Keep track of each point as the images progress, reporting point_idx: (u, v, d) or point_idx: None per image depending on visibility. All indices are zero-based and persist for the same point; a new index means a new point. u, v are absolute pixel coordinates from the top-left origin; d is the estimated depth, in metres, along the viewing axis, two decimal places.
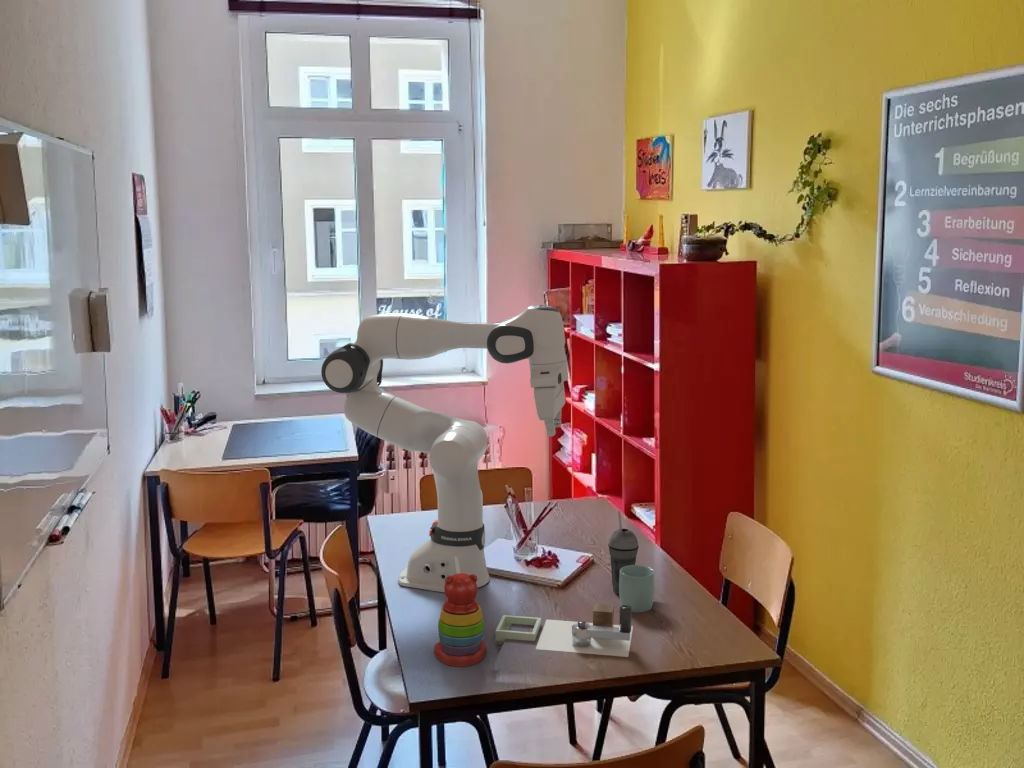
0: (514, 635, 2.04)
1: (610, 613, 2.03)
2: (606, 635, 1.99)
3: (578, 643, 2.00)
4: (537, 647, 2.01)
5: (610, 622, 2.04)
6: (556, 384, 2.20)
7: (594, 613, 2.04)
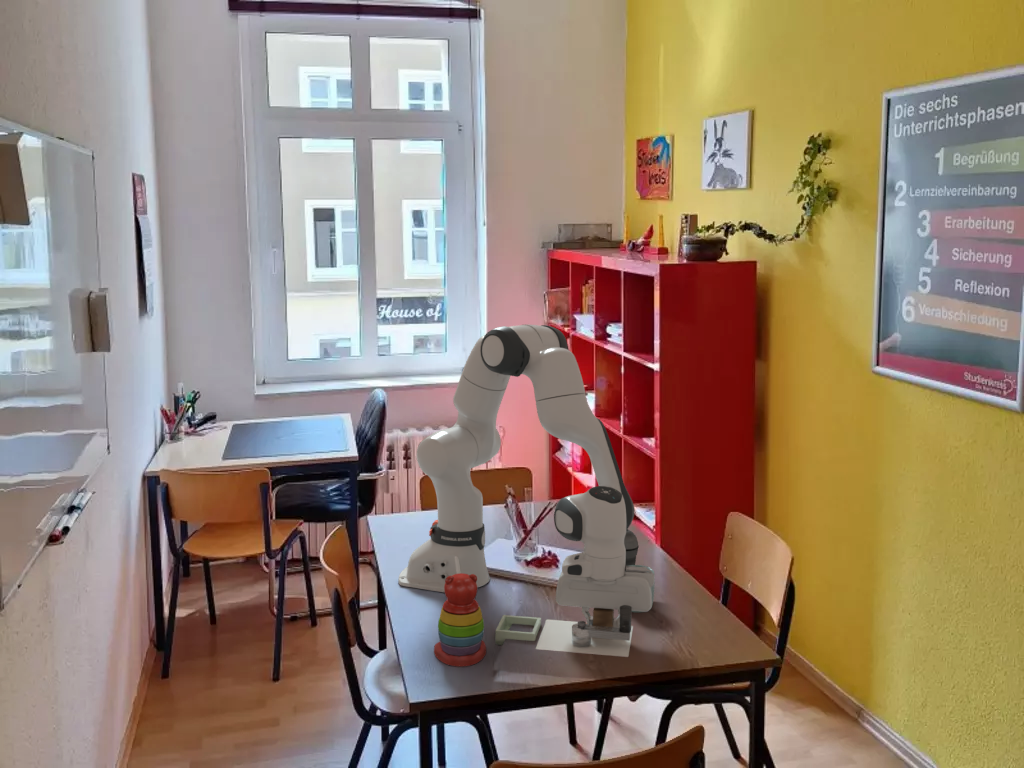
0: (514, 635, 2.04)
1: (610, 613, 2.03)
2: (606, 635, 1.99)
3: (578, 643, 2.00)
4: (537, 647, 2.01)
5: (610, 622, 2.04)
6: (562, 572, 2.03)
7: (594, 613, 2.04)
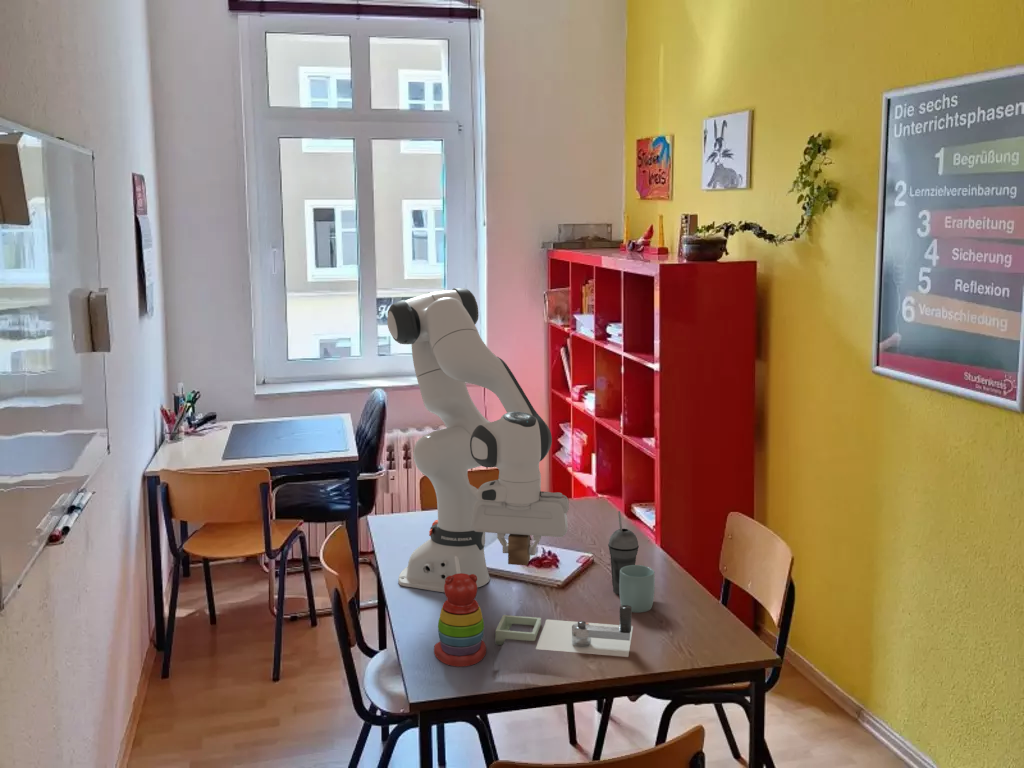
0: (514, 635, 2.04)
1: (525, 539, 2.03)
2: (606, 635, 1.99)
3: (578, 643, 2.00)
4: (537, 647, 2.01)
5: (525, 548, 2.03)
6: (477, 497, 2.02)
7: (509, 539, 2.03)
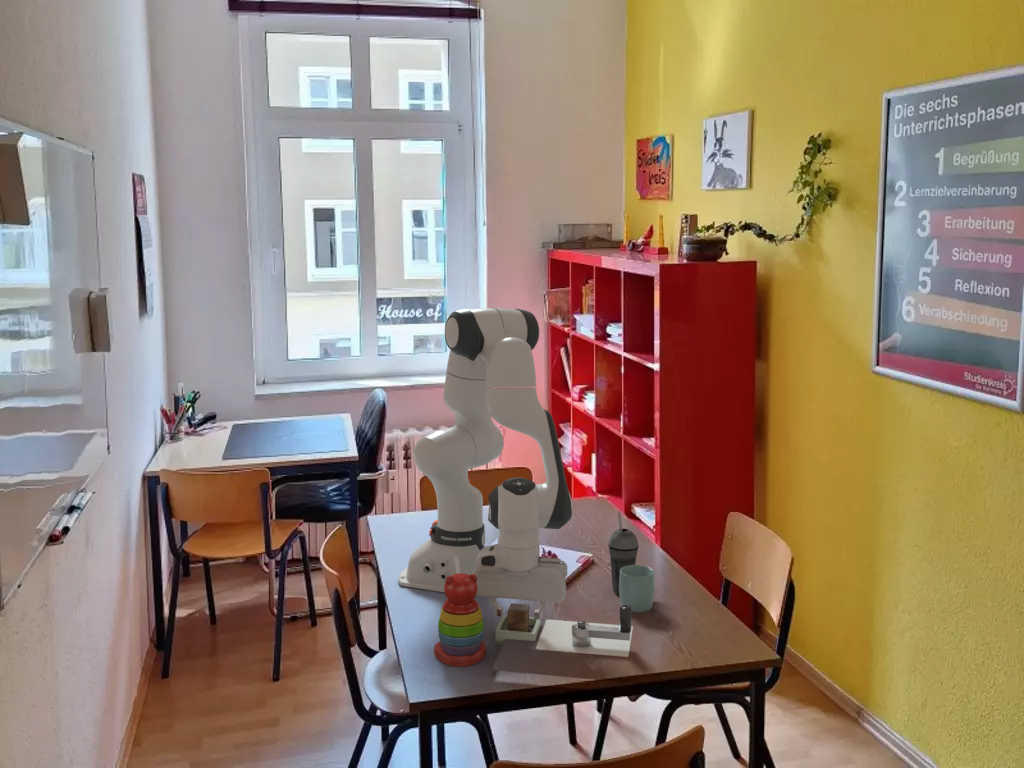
0: (514, 635, 2.04)
1: (524, 613, 2.05)
2: (606, 635, 1.99)
3: (578, 643, 2.00)
4: (537, 647, 2.01)
5: (524, 621, 2.06)
6: (476, 563, 2.05)
7: (508, 613, 2.06)
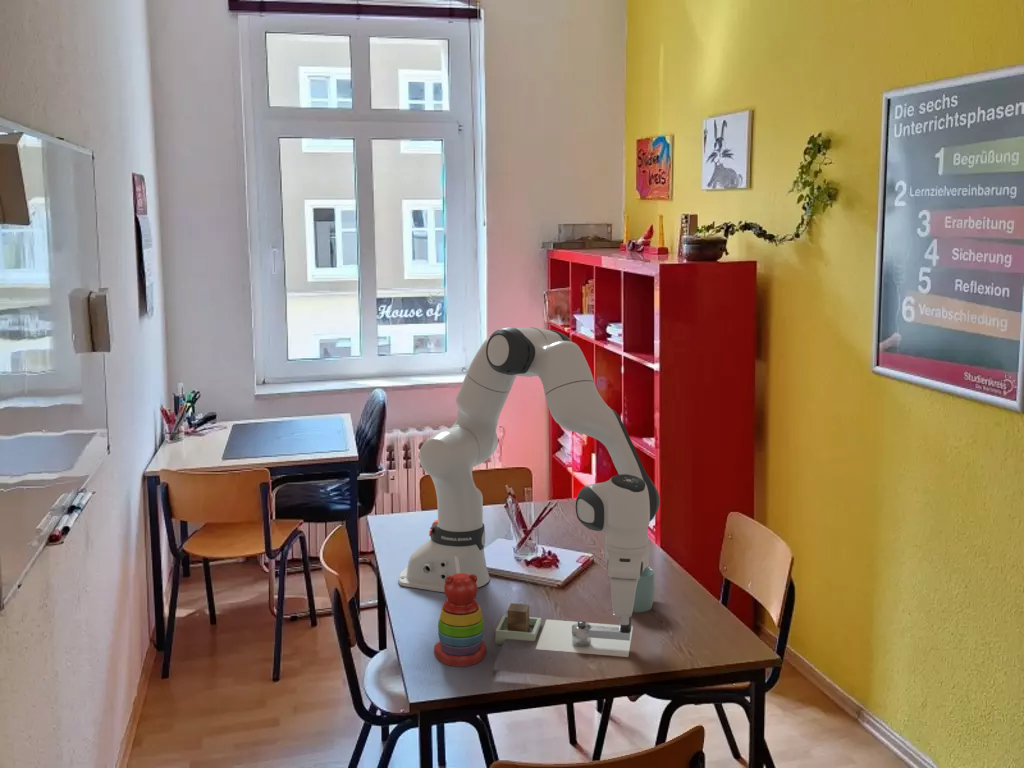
0: (514, 635, 2.04)
1: (524, 613, 2.05)
2: (606, 635, 1.99)
3: (578, 643, 2.00)
4: (537, 647, 2.01)
5: (524, 621, 2.06)
6: (638, 577, 1.89)
7: (508, 613, 2.06)
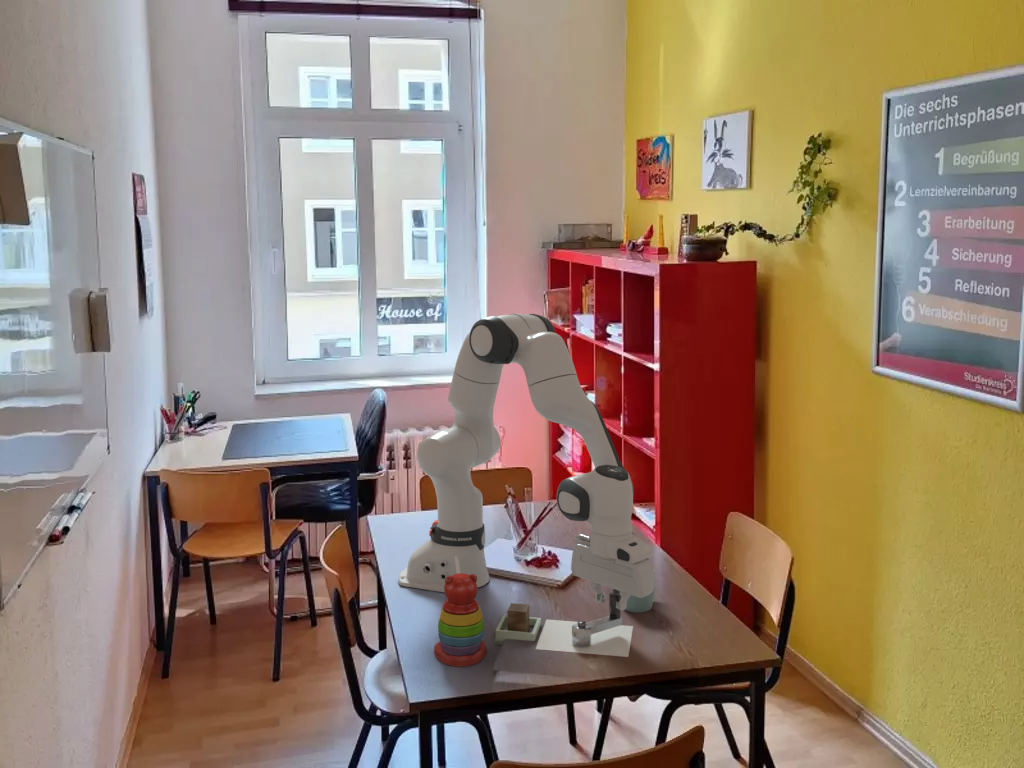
0: (514, 635, 2.04)
1: (524, 613, 2.05)
2: (604, 626, 2.04)
3: (585, 643, 2.00)
4: (537, 647, 2.01)
5: (524, 621, 2.06)
6: (651, 555, 2.01)
7: (508, 613, 2.06)
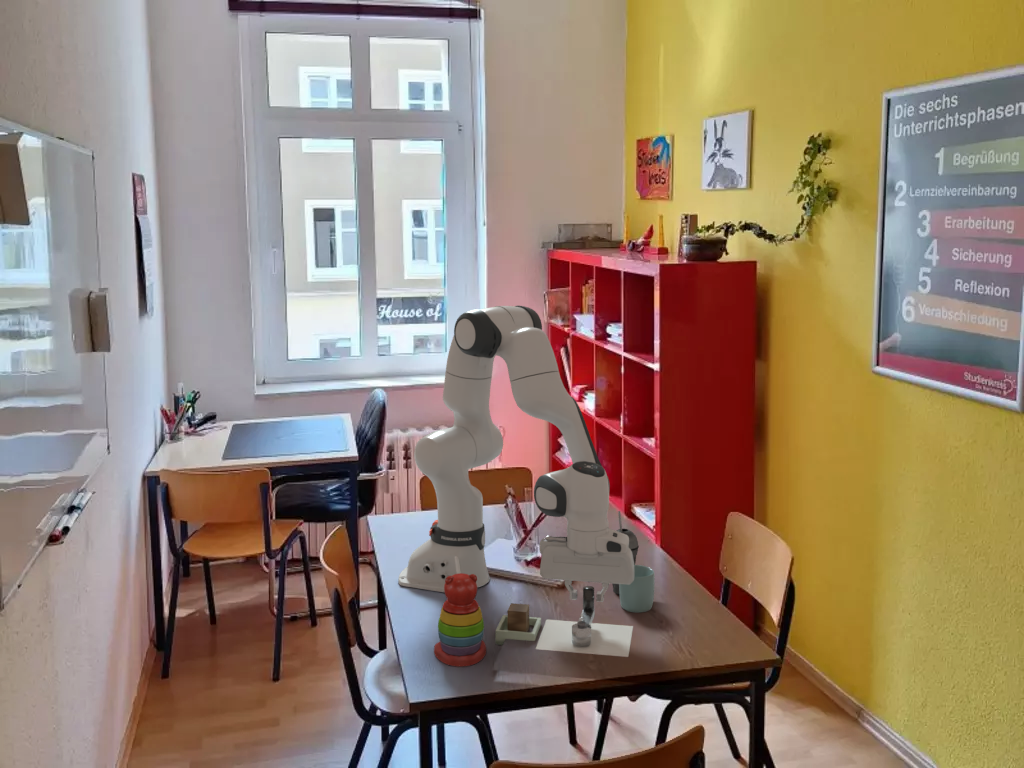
0: (514, 635, 2.04)
1: (524, 613, 2.05)
2: (591, 621, 2.06)
3: (590, 641, 2.01)
4: (537, 647, 2.01)
5: (524, 621, 2.06)
6: None
7: (508, 613, 2.06)
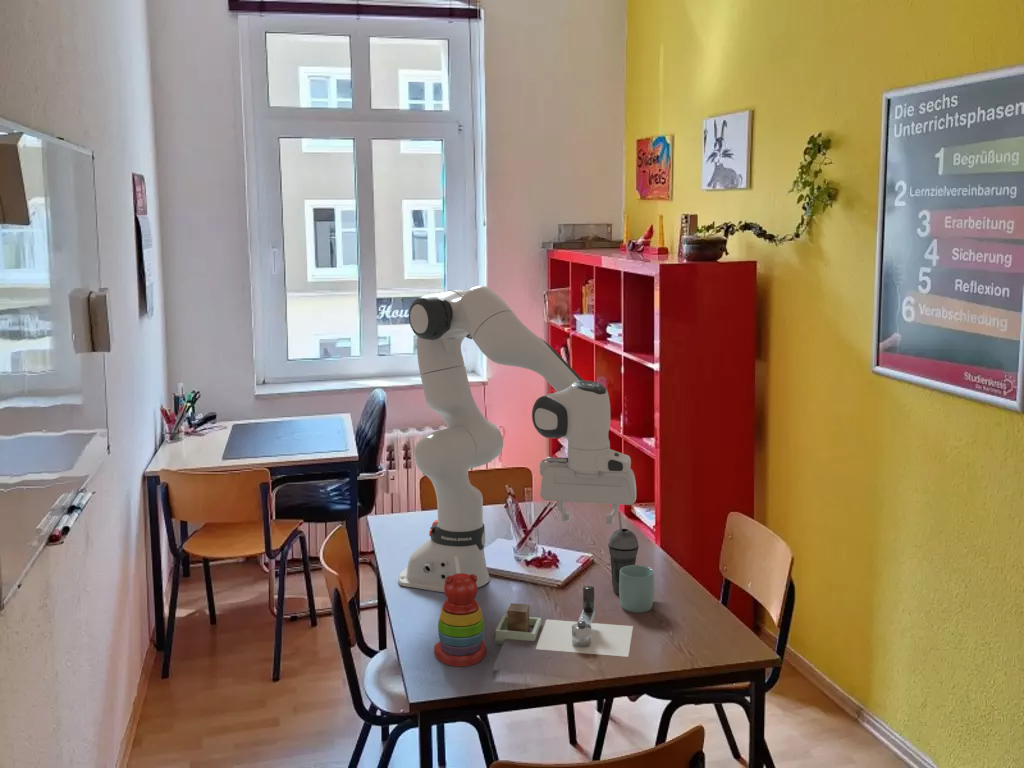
0: (514, 635, 2.04)
1: (524, 613, 2.05)
2: (591, 621, 2.06)
3: (590, 641, 2.01)
4: (537, 647, 2.01)
5: (524, 621, 2.06)
6: None
7: (508, 613, 2.06)
